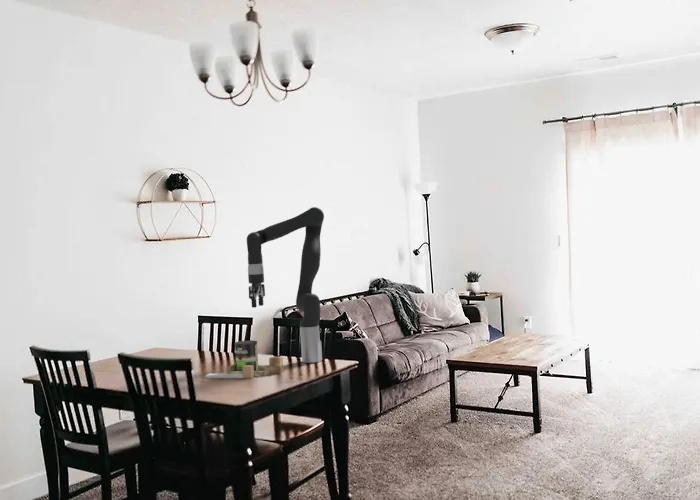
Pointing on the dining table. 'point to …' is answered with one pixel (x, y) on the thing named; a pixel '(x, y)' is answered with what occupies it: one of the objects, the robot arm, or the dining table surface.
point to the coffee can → (246, 354)
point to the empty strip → (247, 373)
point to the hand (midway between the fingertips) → (257, 306)
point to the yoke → (263, 367)
